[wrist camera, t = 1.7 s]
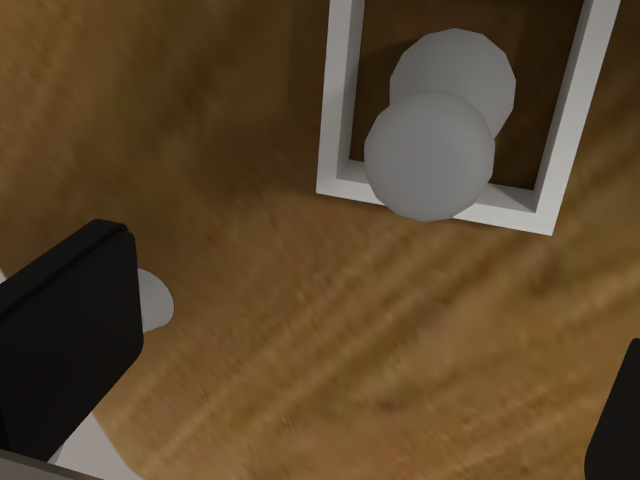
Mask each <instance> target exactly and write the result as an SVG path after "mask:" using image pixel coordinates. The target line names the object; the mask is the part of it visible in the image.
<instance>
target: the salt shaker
mask: <svg viewBox="0 0 640 480" xmlns="http://www.w3.org/2000/svg"><path fill="white" fill-rule="evenodd" d="M515 86H516V79H515V77H514V74H513V72H512V69H511V67H510V64H509V62H508V59H507V57H506V54H505V53H504V52H503V51H502V50H501V49H499V48H498V47H497V46H496V45H495V44H494V43H492V42H491V41H490V40H489V39H488V38H487V37H485V36H484V35H483V34H479V33H475V32H471V31H466V30H462V29H458V28H452V29H448V30H444V31H439V32H435V33H431V34H427V35H424V36H423V37H422V38H421V39H419V40H418V41H417V42H416V43H415V44H413V45H412V46H411V47H410V48H409V49H407V50H406V51H405V52H404V53H403V54H402V56H401V58H400V60H399V62H398V64H397V66H396V68H395V70H394V72H393V74H392V76H391V78H390V106H389V107H387V108H386V109H385V110H384V111H382V112H381V113H380V114H379V115H378V116H377V118H376V120H375V122H374V124H373V126H372V128H371V130H370V132H369V134H368V136H367V138H366V140H365V145H364V167H365V176H366V178H367V180H368V182H369V184H370V186H371V188H372V191H373V193H374V195H375V197H376V198H377V199H378V200H379V201H381V202H382V203H383V204H384V205H386V206H387V207H388V208H389V209H391V210H392V211H393V212H394V213H396V214H397V215H400V216H404V217H407V218H410V219H414V220H417V221H420V222H429V221H436V220H443V219H450V218H452V217H454V216H455V215H457V214H459V213H460V212H462V211H464V210H465V209H467V208H469V207H470V206H472V205H474V203H475V202H476V200H477V199H478V197H479V195H480V194H481V192H482V191H483V189H484V187H485V186H486V184H487V183H488V181H489V179H490V178H491V176H492V172H493V162H494V153H495V141H494V138H495V137H496V136H497V135H498V133H499V131H500V130H501V128H502V126H503V125H504V123H505V121H506V120H507V118H508V116H509V115H510V113H511V112H512V110H513V104H514V95H515Z"/></svg>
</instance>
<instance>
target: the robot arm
mask: <svg viewBox="0 0 640 480" xmlns="http://www.w3.org/2000/svg"><path fill="white" fill-rule="evenodd" d="M143 343H144V338H143V326H142V314H141V303H140V291H139V279H138V268H137V256H136V244H135V237H134V235H133V234H132V233H130V232H129V231H128V228H127V227H126V225H124V224H122V223H117V222H112V221H107V220H102V219H94V220H92V221H91V222H89V223H88V224H86V225H85V226H83V227H82V228H80V229H79V230H78V231H76V232H75V233H73V234H72V235H70V236H69V237H67V238H66V239H65V240H63V241H62V242H60V243H59V244H57V245H56V246H55V247H53V248H52V249H50V250H49V251H47V252H46V253H44V254H43V255H42V256H40V257H39V258H37V259H36V260H34V261H33V262H31V263H30V264H29V265H27V266H26V267H24V268H23V269H21V270H20V271H18V272H17V273H16V274H14V275H13V276H11V277H10V278H8V279H7V280H5V281H4V282H3V283H1V284H0V480H103V479H100V478H97V477H93V476H90V475H87V474H83V473H79V472H77V471H73V470H70V469H66V468H63V467H60V466H56V465H53V464H50V463H47V462H48V461H49V459H50V458H51V457H52V456H53V455H54V454H55V453H56V451H57V450H58V449H59V448H60V447H61V446H62V445H63V443H64V442H65V441H66V440H67V439H68V437H69V436H70V435H71V434H72V433H73V432H74V431H75V430H76V428H77V427H78V426H79V425H80V424H81V422H82V421H83V420H84V419H85V418H86V417H87V416H88V415H89V413H90V412H91V411H92V410H93V409H94V408H95V406H96V405H97V404H98V403H99V402H100V401H101V400H102V398H103V397H104V396H105V395H106V394H107V393H108V391H109V390H110V389H111V388H112V387H113V386H114V385H115V383H116V382H117V381H118V380H119V379H120V378H121V376H122V375H123V374H124V373H125V372H126V371H127V370H128V368H129V367H130V366H131V365H132V364H133V363H134V361H135V360H136V359H137V358H138V356H139V355H140V353H141V351H142V348H143ZM584 471H585V479H586V480H640V339H638V338H634V339H633V340H632V341H631V343H630V345H629V347H628V350H627V352H626V355H625V357H624V360H623V362H622V365H621V367H620V370H619V372H618V375H617V377H616V380H615V382H614V384H613V387H612V389H611V392H610V394H609V397H608V399H607V402H606V404H605V407H604V409H603V412H602V414H601V417H600V419H599V422H598V424H597V426H596V429H595V431H594V434H593V436H592V439H591V441H590V444H589V446H588V449H587V452H586V456H585V463H584Z"/></svg>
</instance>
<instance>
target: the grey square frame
mask: <svg viewBox="0 0 640 480" xmlns="http://www.w3.org/2000/svg"><path fill="white" fill-rule="evenodd" d="M620 1H621V0H584V2H583V5H582V9H581V13H580V17H579V21H578V24H577V28H576V32H575V36H574V39H573V43H572V47H571V51H570V54H569V58H568V62H567V66H566V69H565V73H564V77H563V81H562V85H561V88H560V92H559V96H558V100H557V103H556V107H555V111H554V115H553V118H552V122H551V126H550V130H549V133H548V137H547V141H546V145H545V149H544V152H543V156H542V160H541V164H540V167H539V171H538V175H537V179H536V182H535V186H534V190H527V189H521V188H515V187H509V186H503V185H497V184H492V183H487V184H486V186H485V187H484V189H483V191H482V192H481V194H480V195H479V197H478V199H477V200H476V202H475V203H474V205H472V206H470V207H469V208H467V209H465V210H464V211H462V212H460V213H459V214H457V215H455V216H454V217H452V218H457V219H462V220H468V221H473V222H479V223H484V224H490V225H495V226H501V227H506V228H512V229H517V230H523V231H528V232H534V233H539V234H545V235H550V236H552V233H553V230H554V226H555V223H556V219H557V216H558V213H559V209H560V206H561V202H562V199H563V196H564V192H565V189H566V185H567V182H568V179H569V175H570V172H571V168H572V165H573V162H574V158H575V155H576V151H577V148H578V144H579V141H580V138H581V134H582V131H583V127H584V124H585V121H586V117H587V114H588V110H589V107H590V104H591V100H592V97H593V93H594V90H595V87H596V83H597V80H598V76H599V73H600V70H601V66H602V63H603V59H604V56H605V52H606V49H607V46H608V42H609V39H610V35H611V32H612V29H613V25H614V22H615V18H616V15H617V12H618V8H619V5H620ZM364 6H365V0H330V9H329V23H328V36H327V50H326V63H325V77H324V90H323V104H322V117H321V131H320V144H319V158H318V171H317V185H316V193H319V194H325V195H330V196H336V197H341V198H347V199H352V200H358V201H363V202H369V203H374V204H380V205H384V204H383V203H382V202H381V201H379V200H378V199H377V198H376V197H375V195H374V193H373V191H372V188H371V186H370V184H369V182H368V180H367V178H366V176H365V167H364V162H361V161H355V160H349V155H350V145H351V135H352V125H353V115H354V105H355V96H356V86H357V76H358V66H359V56H360V46H361V36H362V26H363V16H364ZM385 206H386V205H385Z"/></svg>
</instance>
